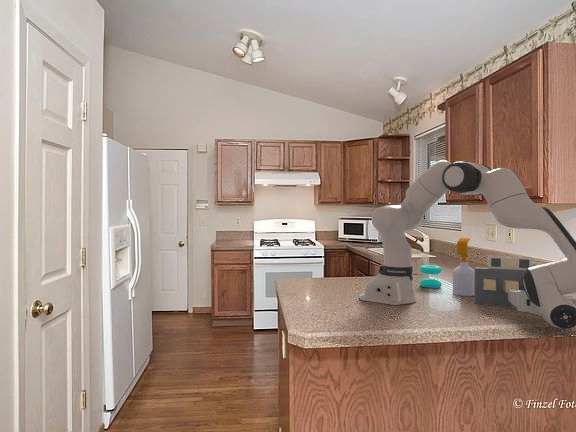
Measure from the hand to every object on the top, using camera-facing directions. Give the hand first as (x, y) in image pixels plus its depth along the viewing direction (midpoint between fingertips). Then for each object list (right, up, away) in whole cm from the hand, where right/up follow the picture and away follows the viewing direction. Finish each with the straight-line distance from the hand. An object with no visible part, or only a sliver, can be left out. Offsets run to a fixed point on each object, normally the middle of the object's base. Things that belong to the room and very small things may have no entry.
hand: (538, 294), depth 126 cm
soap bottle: (-9, -8, +34) cm, 36 cm away
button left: (-8, -2, +18) cm, 19 cm away
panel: (-1, -8, +14) cm, 16 cm away
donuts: (-18, -7, +50) cm, 54 cm away
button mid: (-2, -2, +13) cm, 13 cm away
